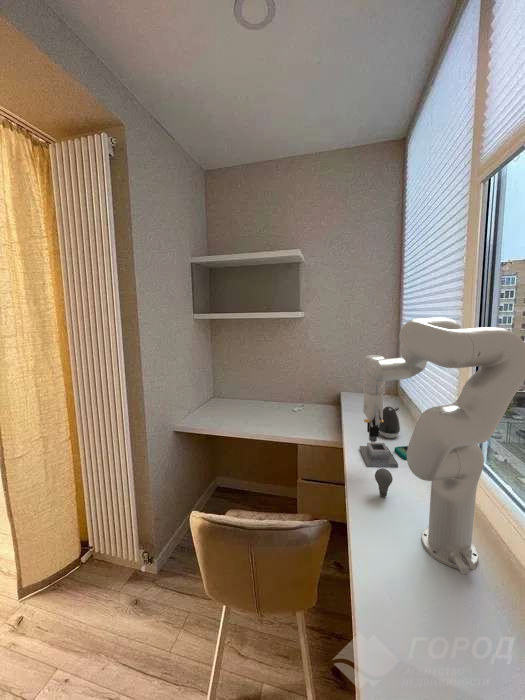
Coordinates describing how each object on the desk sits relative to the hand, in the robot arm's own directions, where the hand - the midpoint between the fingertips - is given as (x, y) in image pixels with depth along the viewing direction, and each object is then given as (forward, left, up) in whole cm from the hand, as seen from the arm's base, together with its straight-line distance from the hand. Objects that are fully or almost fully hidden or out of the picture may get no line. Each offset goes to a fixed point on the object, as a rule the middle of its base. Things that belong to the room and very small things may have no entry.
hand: (372, 433), depth 107 cm
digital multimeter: (+15, -21, -17) cm, 31 cm away
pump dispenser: (+32, -16, -16) cm, 39 cm away
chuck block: (+12, -5, -16) cm, 21 cm away
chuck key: (0, 0, -2) cm, 2 cm away
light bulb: (-14, 0, -16) cm, 22 cm away
